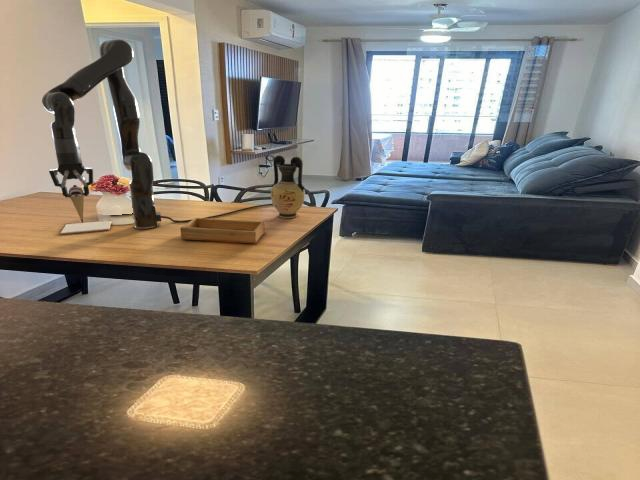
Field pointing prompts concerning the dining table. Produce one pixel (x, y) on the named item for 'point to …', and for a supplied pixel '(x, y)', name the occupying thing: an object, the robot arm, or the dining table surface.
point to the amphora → (287, 187)
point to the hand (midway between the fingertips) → (76, 196)
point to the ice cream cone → (77, 199)
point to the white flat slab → (86, 227)
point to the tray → (223, 230)
